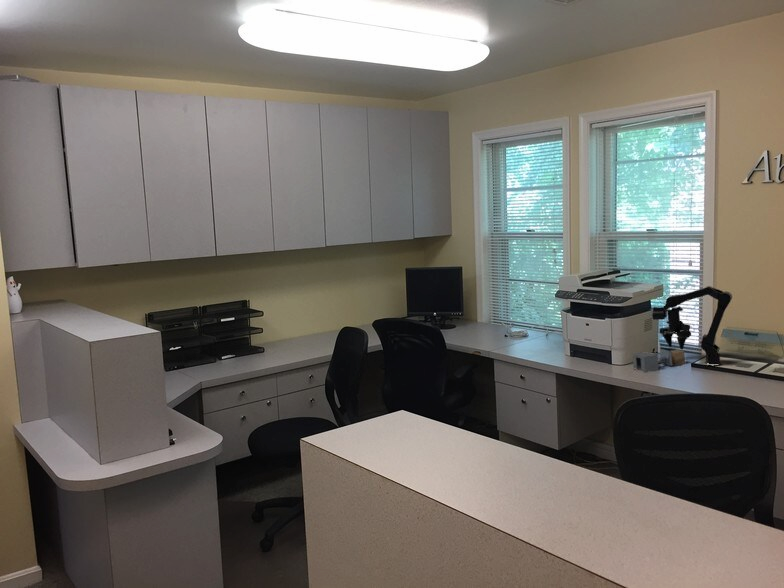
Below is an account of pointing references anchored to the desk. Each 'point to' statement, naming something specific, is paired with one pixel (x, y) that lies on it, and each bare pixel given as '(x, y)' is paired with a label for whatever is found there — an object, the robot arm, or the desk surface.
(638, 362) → the gauge frame
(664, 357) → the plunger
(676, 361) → the pusher block
